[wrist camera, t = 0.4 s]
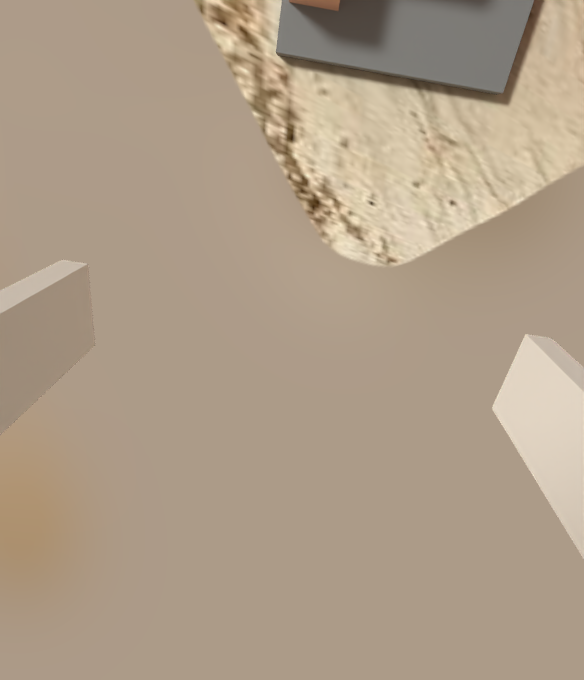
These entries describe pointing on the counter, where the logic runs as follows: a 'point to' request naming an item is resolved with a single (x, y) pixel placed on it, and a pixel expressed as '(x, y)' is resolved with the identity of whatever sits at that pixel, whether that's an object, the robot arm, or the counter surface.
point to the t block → (319, 3)
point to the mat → (411, 38)
